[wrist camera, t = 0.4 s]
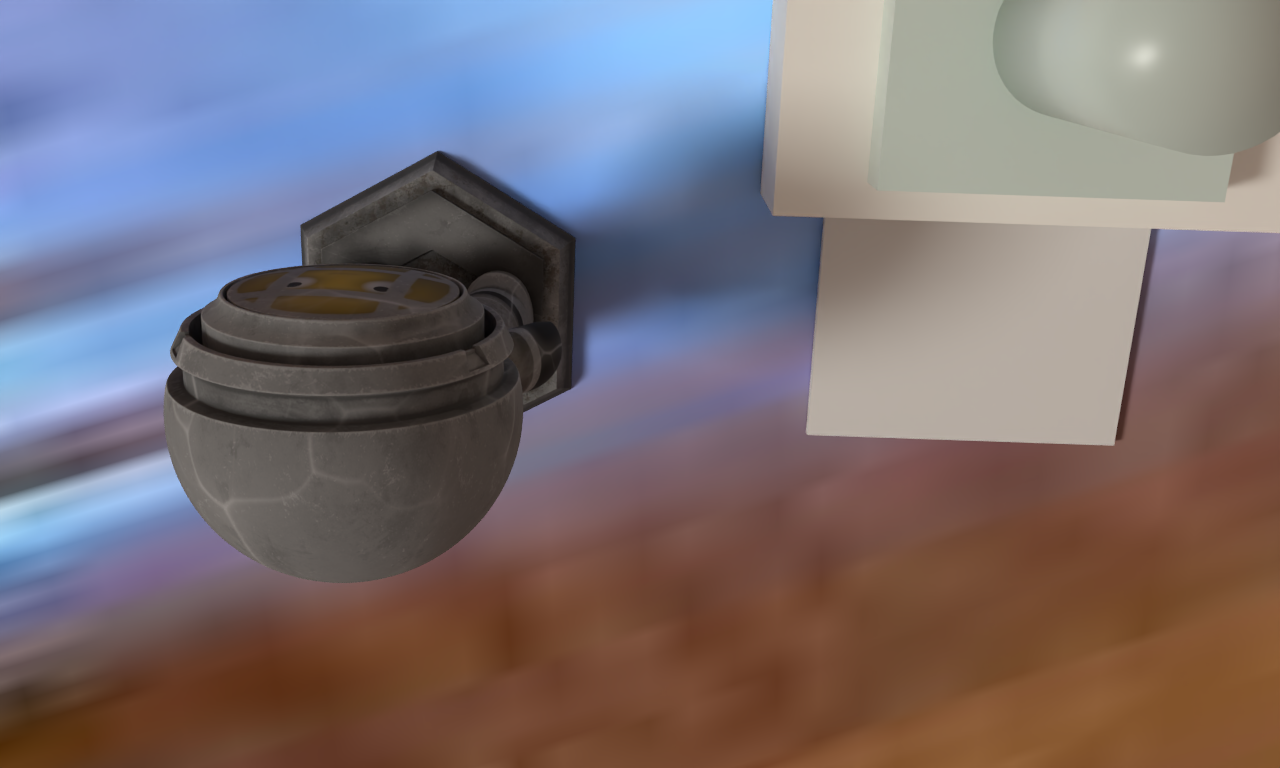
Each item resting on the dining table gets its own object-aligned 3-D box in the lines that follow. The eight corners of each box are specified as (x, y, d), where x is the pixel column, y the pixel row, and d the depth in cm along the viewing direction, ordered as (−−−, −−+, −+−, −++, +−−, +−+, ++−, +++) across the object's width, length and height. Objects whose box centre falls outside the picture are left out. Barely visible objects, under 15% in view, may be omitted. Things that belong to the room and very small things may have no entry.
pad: (824, 203, 35) (826, 205, 35) (1149, 214, 35) (1153, 216, 35) (806, 431, 38) (807, 434, 37) (1110, 442, 38) (1114, 445, 37)
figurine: (577, 157, 35) (523, 259, 21) (569, 458, 38) (517, 726, 24) (297, 144, 35) (51, 236, 21) (311, 446, 38) (105, 707, 24)
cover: (897, -139, 29) (1007, -207, 20) (1257, -127, 29) (1532, -190, 20) (867, 182, 31) (953, 253, 22) (1198, 193, 31) (1419, 268, 22)
